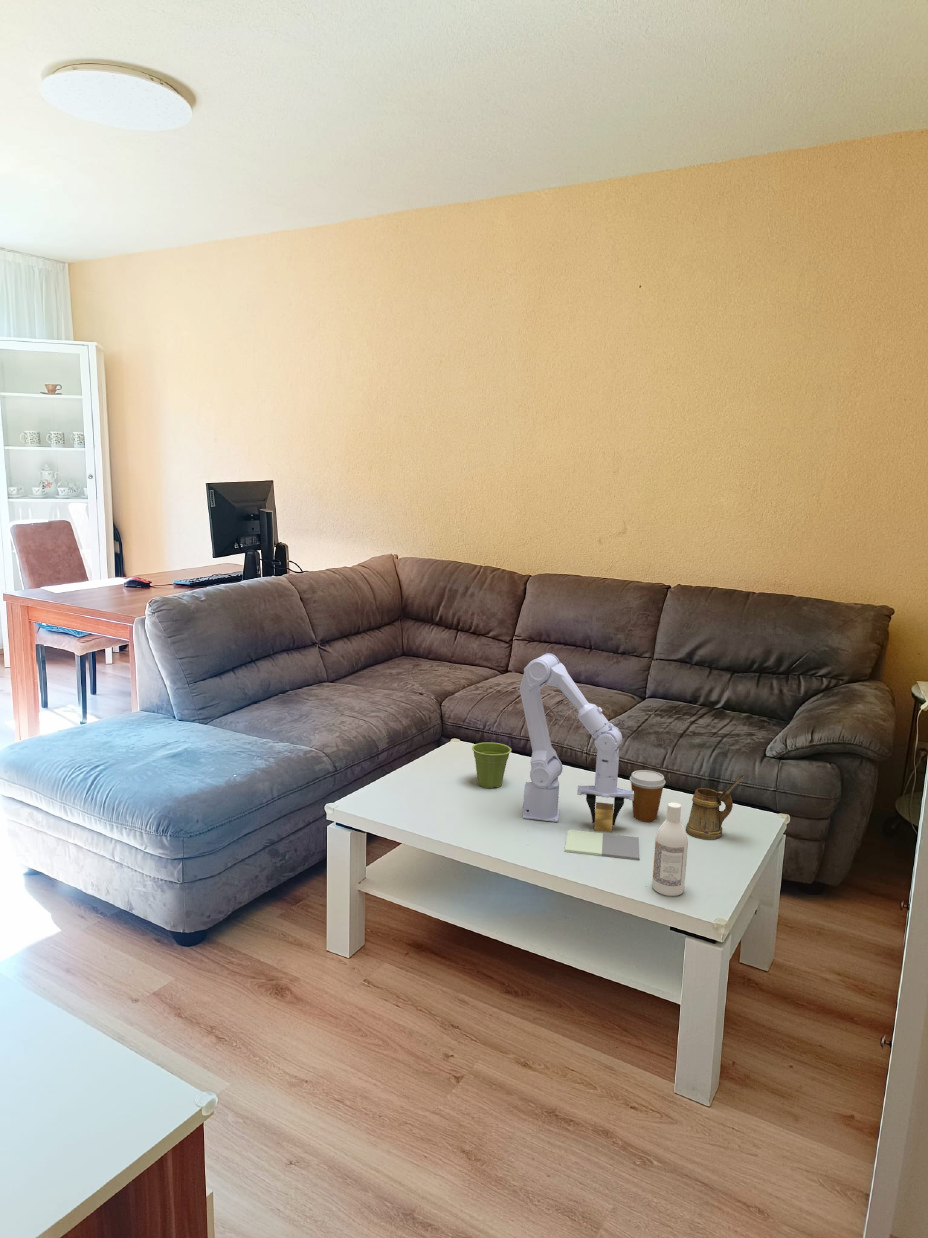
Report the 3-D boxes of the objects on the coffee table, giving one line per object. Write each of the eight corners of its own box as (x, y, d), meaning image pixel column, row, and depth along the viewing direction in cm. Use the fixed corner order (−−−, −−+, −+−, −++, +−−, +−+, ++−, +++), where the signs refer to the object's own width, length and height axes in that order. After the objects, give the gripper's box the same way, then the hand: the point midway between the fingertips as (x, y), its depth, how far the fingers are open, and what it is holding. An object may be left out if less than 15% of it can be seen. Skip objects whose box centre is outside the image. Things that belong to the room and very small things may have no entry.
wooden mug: (732, 848, 202) (739, 780, 199) (680, 833, 210) (686, 767, 207) (743, 836, 209) (749, 770, 206) (692, 822, 217) (697, 759, 214)
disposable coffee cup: (663, 826, 214) (666, 783, 212) (627, 822, 216) (629, 779, 214) (661, 812, 223) (665, 771, 221) (627, 809, 225) (629, 768, 223)
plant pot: (510, 792, 234) (512, 755, 233) (470, 791, 234) (471, 754, 233) (509, 778, 246) (510, 742, 244) (470, 776, 246) (471, 741, 244)
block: (594, 830, 210) (595, 808, 209) (594, 823, 214) (596, 802, 213) (611, 832, 209) (613, 810, 208) (611, 825, 213) (613, 804, 212)
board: (564, 851, 197) (564, 849, 197) (567, 831, 208) (567, 829, 208) (639, 860, 194) (639, 858, 193) (638, 839, 205) (638, 837, 205)
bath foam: (660, 878, 185) (667, 796, 181) (689, 889, 180) (696, 804, 177) (646, 889, 179) (652, 804, 176) (675, 900, 175) (682, 813, 172)
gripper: (577, 776, 207) (575, 825, 209) (635, 781, 204) (631, 832, 206) (579, 767, 214) (576, 815, 216) (634, 772, 211) (631, 821, 213)
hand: (603, 822), depth 211 cm, fingers closed on block, 4 cm apart
